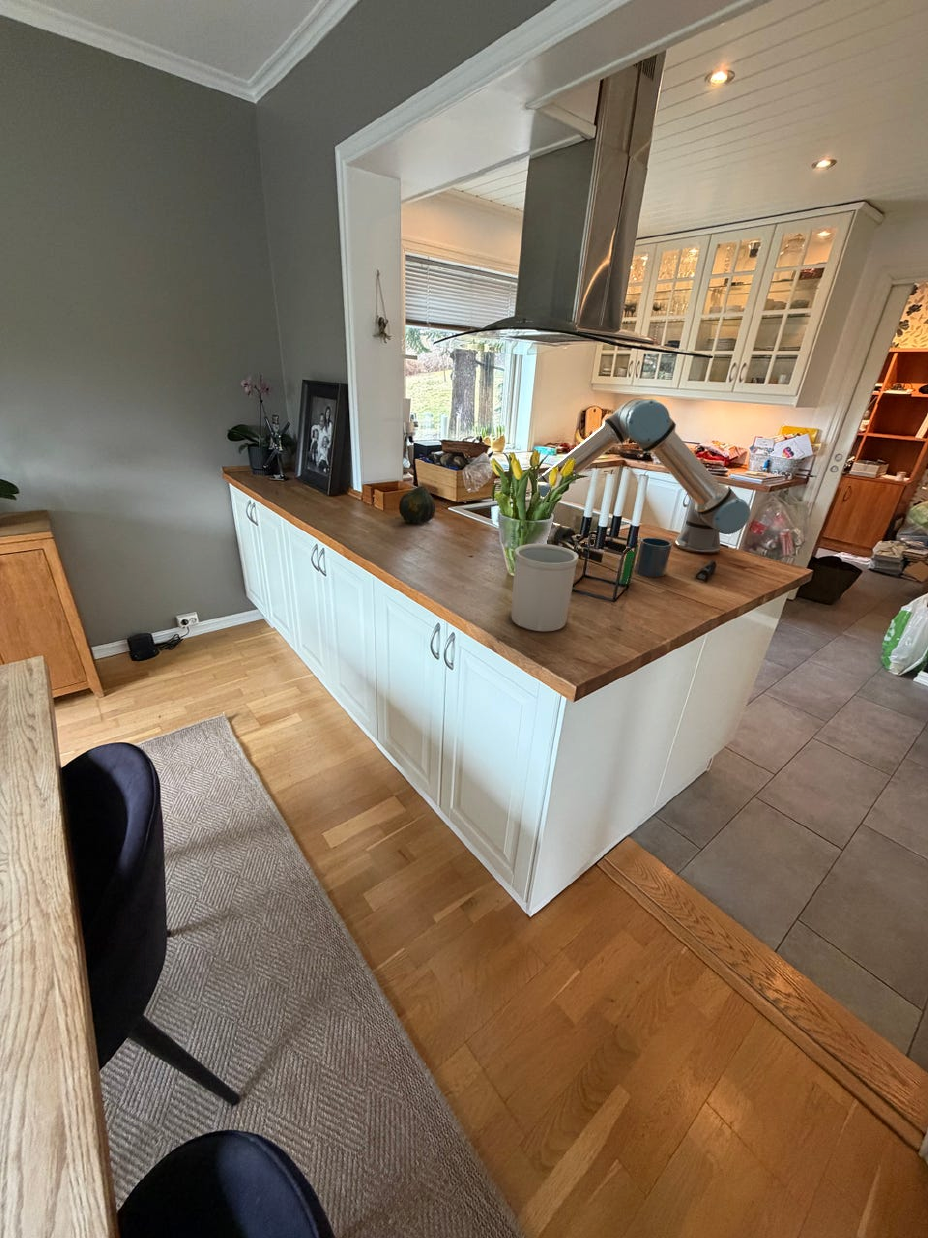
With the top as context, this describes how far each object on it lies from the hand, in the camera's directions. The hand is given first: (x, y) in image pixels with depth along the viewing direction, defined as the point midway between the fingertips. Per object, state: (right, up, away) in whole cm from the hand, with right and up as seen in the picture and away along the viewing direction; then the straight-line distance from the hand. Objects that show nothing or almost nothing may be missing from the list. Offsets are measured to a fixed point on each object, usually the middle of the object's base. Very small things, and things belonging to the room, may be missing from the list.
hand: (614, 553), depth 146 cm
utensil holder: (-27, -20, -24) cm, 41 cm away
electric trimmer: (+32, -6, +9) cm, 33 cm away
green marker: (+3, -9, 0) cm, 9 cm away
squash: (-65, +20, +53) cm, 86 cm away
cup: (+14, -5, +9) cm, 17 cm away
